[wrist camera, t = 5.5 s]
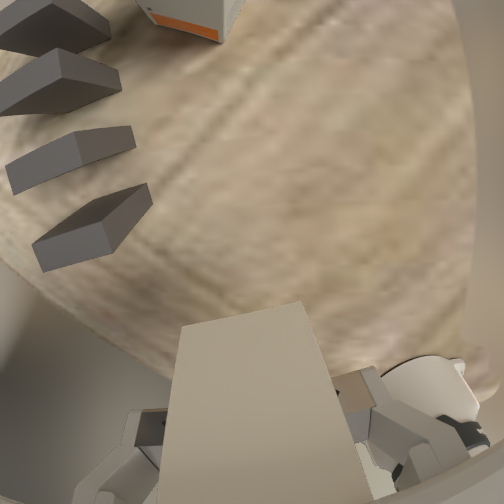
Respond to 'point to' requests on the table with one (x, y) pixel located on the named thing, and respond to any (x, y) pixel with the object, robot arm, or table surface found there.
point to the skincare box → (194, 15)
